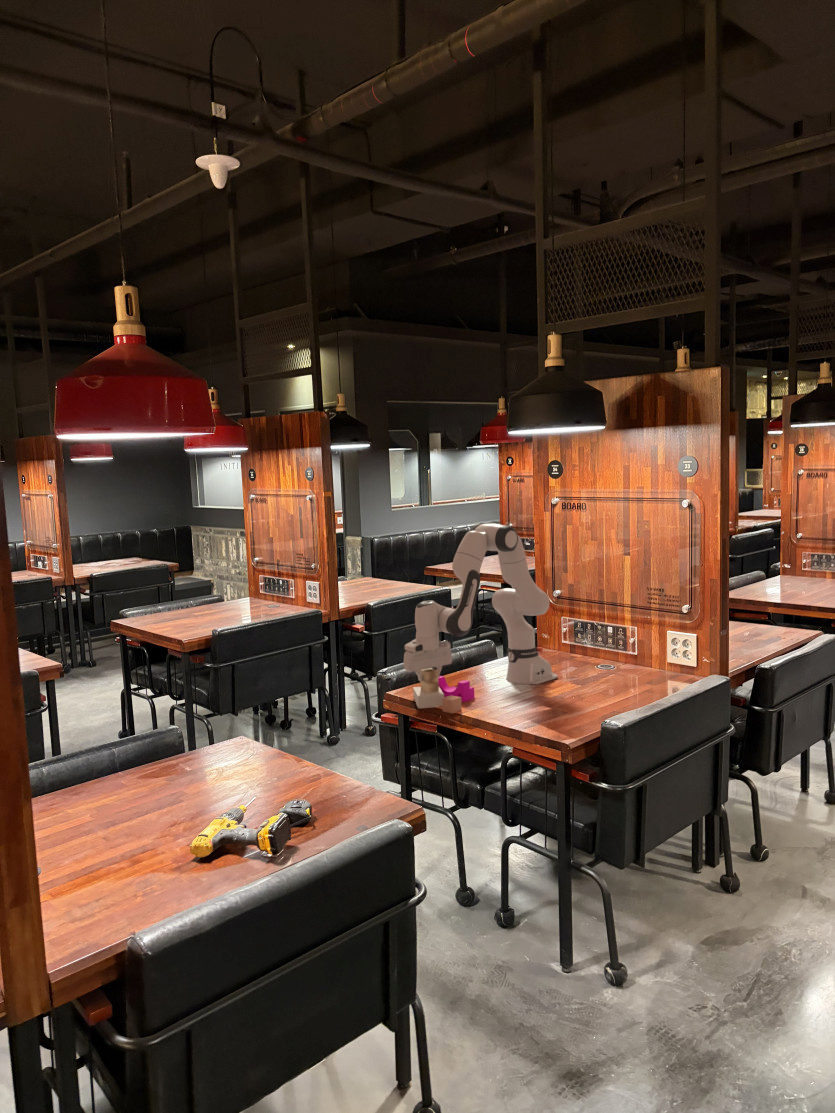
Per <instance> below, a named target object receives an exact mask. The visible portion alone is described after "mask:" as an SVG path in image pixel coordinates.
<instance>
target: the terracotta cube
mask: <svg viewBox="0 0 835 1113" xmlns="http://www.w3.org/2000/svg"><path fill="white" fill-rule="evenodd" d="M441 708H442V712H444V713H449V714H455V713H458V712H460V711H461V712H462V711H463V710H462V709H463V707H462V702H461V697H457V696H452V695H450V696H447V697H444V698H442V707H441Z"/></svg>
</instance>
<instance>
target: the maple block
mask: <svg viewBox="0 0 835 1113" xmlns="http://www.w3.org/2000/svg"><path fill="white" fill-rule="evenodd" d="M420 674H421V676H424V678H423V679H424V680H423V681H419V683H420V687H421V691H424V692H426V693H431V692H436V691H439V683H438V670H437V668H436V669H435V668H434V667H432V668H427V669H422V670H421V672H420Z"/></svg>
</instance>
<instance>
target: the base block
mask: <svg viewBox="0 0 835 1113" xmlns="http://www.w3.org/2000/svg"><path fill="white" fill-rule="evenodd" d="M412 691H413V693H412V694H413V700H414V699H415V701H414V702H416V703H415V705H416V707H417V709H429V708H437V707H436V706H442V698H444V693H443V692H442V690H441V689H440V687H439V691H436V692H431V693H426V692H424V691H421V686H415V687H414V686H413V687H412Z"/></svg>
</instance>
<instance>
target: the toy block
mask: <svg viewBox="0 0 835 1113" xmlns="http://www.w3.org/2000/svg"><path fill="white" fill-rule="evenodd" d="M438 683H439V687H440V689H441V690H442V692H443V693H444V697H447V696H450V695H452V696H457V697H461V703H465V702H467V701H468V702H469V701H471V700H473V699H475V687H473V686H471V685H470V683H471V682H470V680H465V679H464V680H460V681H458V682H457V686H449V685H448V683H447V681H446V677H445V676H443V675H440V677H439V678H438Z"/></svg>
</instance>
